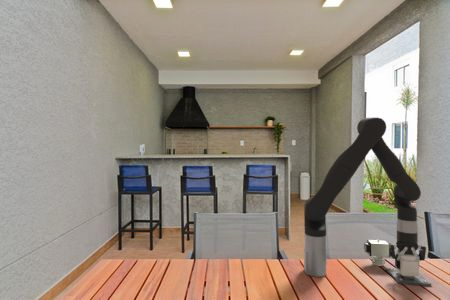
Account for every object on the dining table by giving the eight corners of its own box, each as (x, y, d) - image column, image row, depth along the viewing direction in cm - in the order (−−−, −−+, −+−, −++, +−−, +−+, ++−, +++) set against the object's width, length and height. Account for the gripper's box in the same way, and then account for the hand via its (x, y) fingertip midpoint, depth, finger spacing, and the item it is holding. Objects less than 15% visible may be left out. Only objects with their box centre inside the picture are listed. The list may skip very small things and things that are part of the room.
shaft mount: (398, 283, 113) (398, 269, 113) (385, 270, 126) (385, 257, 126) (431, 286, 111) (431, 271, 111) (414, 272, 124) (414, 258, 124)
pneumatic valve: (393, 267, 129) (393, 242, 129) (366, 265, 131) (366, 240, 131) (389, 263, 134) (389, 238, 134) (363, 261, 137) (363, 236, 137)
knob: (402, 275, 116) (402, 255, 116) (395, 269, 122) (395, 250, 122) (418, 276, 115) (418, 256, 115) (411, 270, 121) (411, 250, 121)
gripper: (392, 231, 116) (392, 271, 116) (430, 233, 114) (430, 274, 114) (385, 226, 124) (385, 264, 124) (420, 228, 121) (420, 266, 121)
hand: (407, 268), depth 119 cm, fingers closed on knob, 6 cm apart
